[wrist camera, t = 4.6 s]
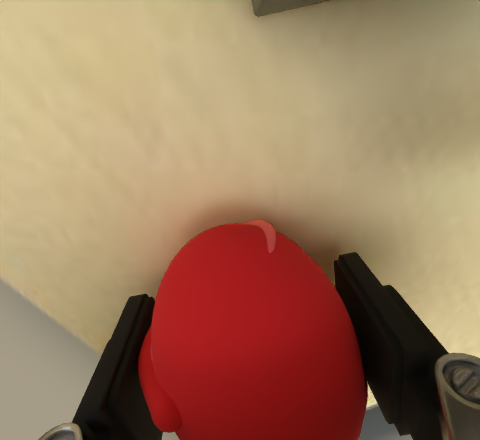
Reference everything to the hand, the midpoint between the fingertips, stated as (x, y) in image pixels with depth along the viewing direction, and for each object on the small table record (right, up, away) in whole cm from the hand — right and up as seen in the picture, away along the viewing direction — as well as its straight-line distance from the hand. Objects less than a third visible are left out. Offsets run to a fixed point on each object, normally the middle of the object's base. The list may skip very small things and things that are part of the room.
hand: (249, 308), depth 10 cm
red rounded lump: (0, +1, +1) cm, 1 cm away
